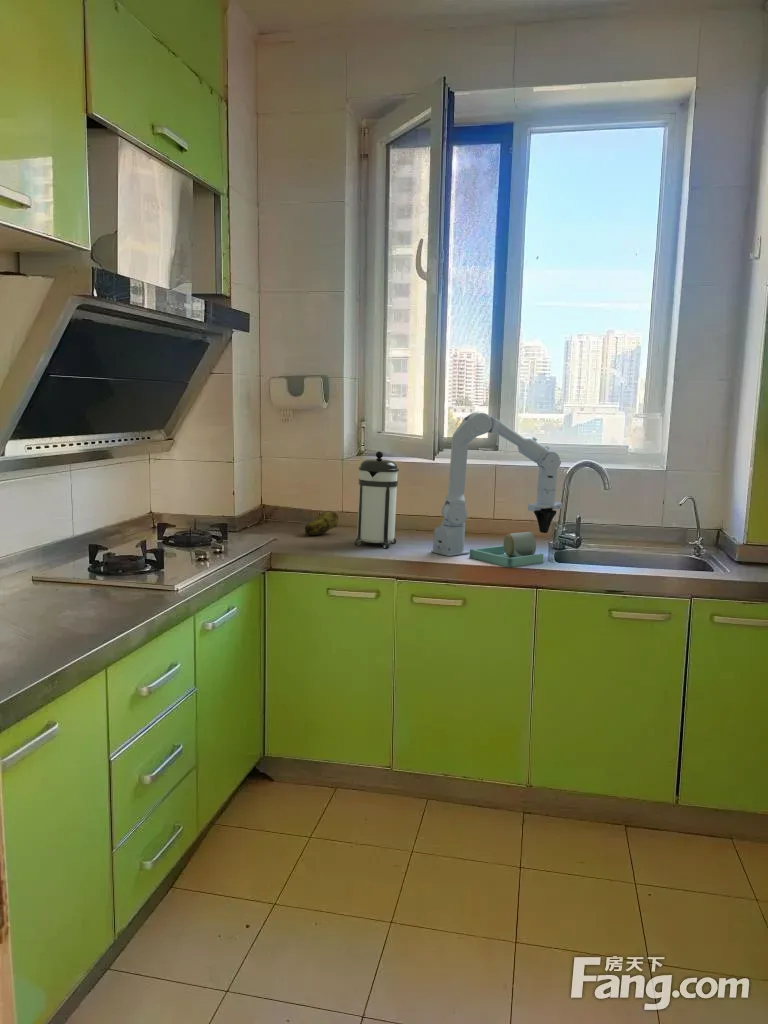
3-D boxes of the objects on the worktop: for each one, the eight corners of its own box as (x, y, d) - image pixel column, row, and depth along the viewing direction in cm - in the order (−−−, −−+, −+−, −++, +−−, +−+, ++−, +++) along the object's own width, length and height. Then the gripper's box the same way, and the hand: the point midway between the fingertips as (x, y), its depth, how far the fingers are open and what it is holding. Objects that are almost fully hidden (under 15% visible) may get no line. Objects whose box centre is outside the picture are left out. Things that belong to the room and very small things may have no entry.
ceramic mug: (501, 554, 240) (503, 529, 239) (525, 554, 242) (527, 529, 241) (515, 561, 230) (517, 536, 229) (540, 561, 232) (542, 536, 231)
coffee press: (409, 547, 245) (414, 453, 241) (364, 549, 238) (368, 452, 234) (385, 538, 260) (389, 449, 256) (342, 540, 253) (345, 448, 249)
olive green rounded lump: (298, 533, 263) (299, 510, 262) (333, 532, 269) (333, 509, 268) (307, 537, 255) (308, 513, 254) (343, 536, 261) (343, 512, 260)
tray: (509, 567, 221) (510, 558, 221) (469, 557, 233) (469, 549, 233) (542, 562, 231) (543, 554, 230) (502, 553, 243) (503, 545, 242)
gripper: (542, 491, 232) (539, 536, 234) (571, 490, 242) (568, 532, 243) (523, 489, 238) (521, 532, 240) (553, 487, 247) (550, 529, 249)
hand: (543, 532), depth 242 cm, fingers closed
